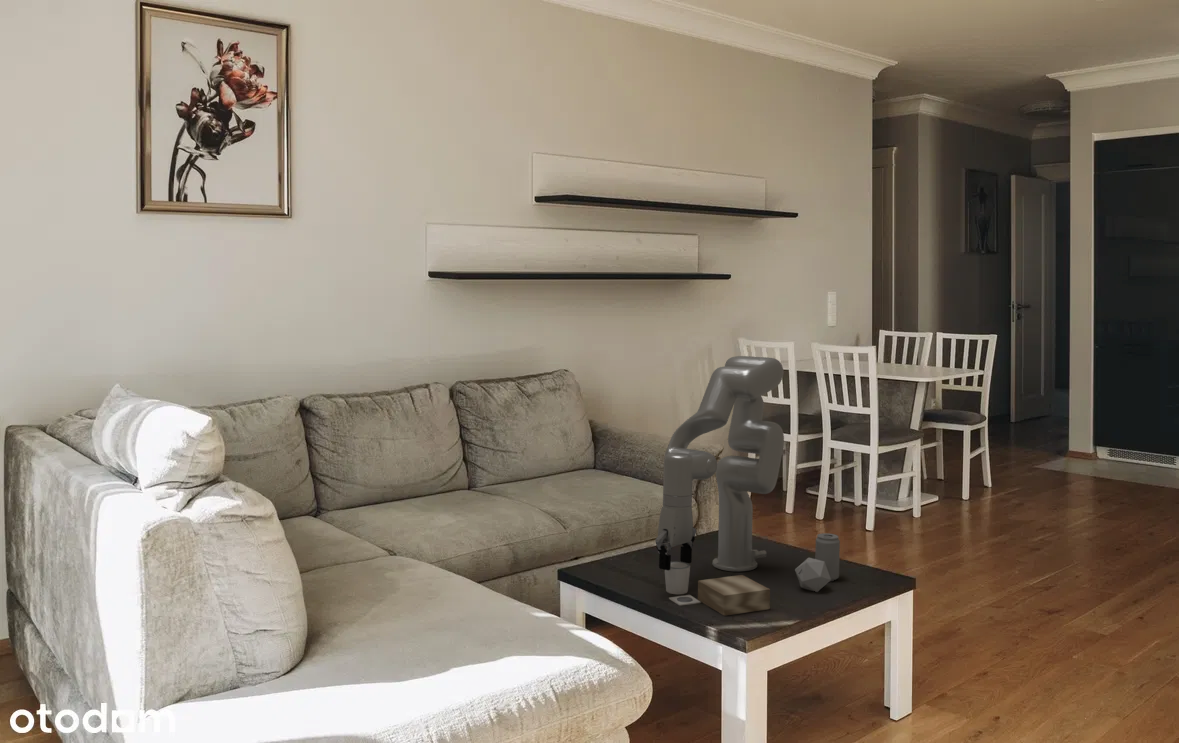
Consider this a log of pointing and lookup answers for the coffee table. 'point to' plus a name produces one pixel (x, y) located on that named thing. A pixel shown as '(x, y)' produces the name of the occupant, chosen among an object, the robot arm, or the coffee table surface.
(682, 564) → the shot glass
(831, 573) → the beverage can
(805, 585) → the die
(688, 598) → the tile
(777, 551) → the coffee table surface
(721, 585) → the oak block
